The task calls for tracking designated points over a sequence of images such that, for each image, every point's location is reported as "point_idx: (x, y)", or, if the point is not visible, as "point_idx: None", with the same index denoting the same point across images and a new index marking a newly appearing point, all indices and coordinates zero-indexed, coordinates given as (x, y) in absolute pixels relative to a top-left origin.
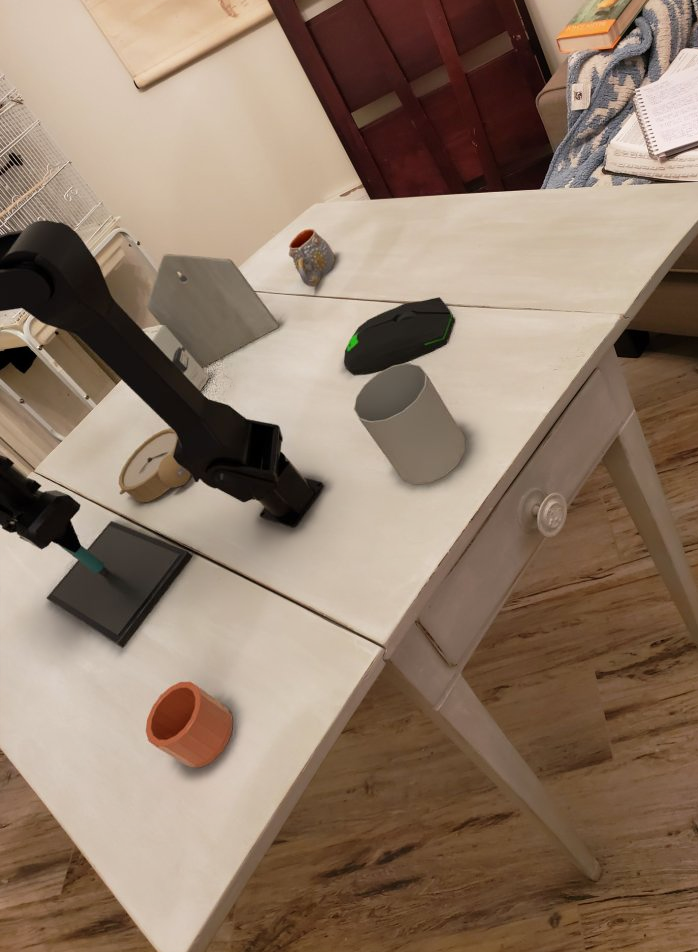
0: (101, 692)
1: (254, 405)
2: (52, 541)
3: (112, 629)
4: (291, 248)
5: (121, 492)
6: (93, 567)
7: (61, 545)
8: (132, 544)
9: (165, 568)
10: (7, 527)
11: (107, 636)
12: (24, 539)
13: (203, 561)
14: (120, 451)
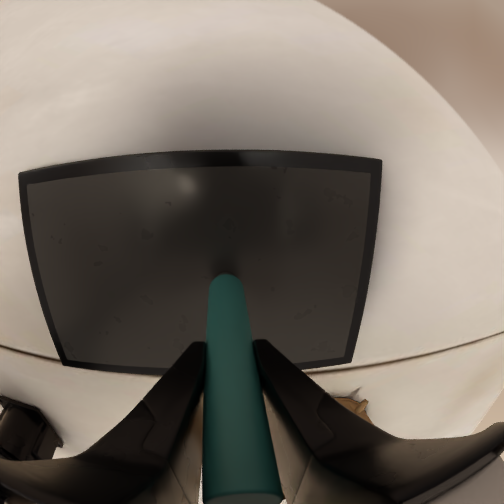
0: (10, 99)
1: None
2: (126, 416)
3: (47, 185)
4: None
5: (363, 404)
6: (210, 291)
7: (158, 383)
8: None
9: (63, 333)
10: (464, 475)
11: (48, 168)
12: (4, 487)
13: (43, 352)
14: (435, 406)
